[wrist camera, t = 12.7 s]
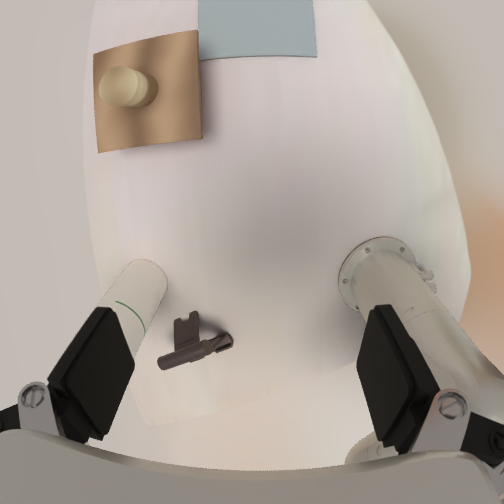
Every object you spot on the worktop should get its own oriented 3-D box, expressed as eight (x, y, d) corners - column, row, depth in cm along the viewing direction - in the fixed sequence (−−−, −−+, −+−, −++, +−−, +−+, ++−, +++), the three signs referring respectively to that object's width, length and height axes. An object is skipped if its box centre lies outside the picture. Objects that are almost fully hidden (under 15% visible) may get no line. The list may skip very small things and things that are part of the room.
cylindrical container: (120, 258, 41) (27, 380, 18) (164, 259, 41) (86, 399, 18) (129, 298, 44) (58, 423, 21) (170, 301, 44) (114, 441, 21)
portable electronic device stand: (192, 355, 49) (183, 390, 41) (164, 324, 46) (149, 359, 38) (233, 338, 47) (229, 376, 39) (206, 304, 44) (196, 341, 36)
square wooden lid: (198, 31, 23) (182, 10, 17) (202, 138, 28) (186, 143, 22) (96, 55, 23) (63, 45, 17) (101, 152, 28) (68, 162, 22)
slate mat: (308, -30, 23) (308, -31, 22) (316, 57, 29) (316, 56, 28) (199, -26, 23) (198, -28, 23) (200, 60, 29) (199, 59, 29)
